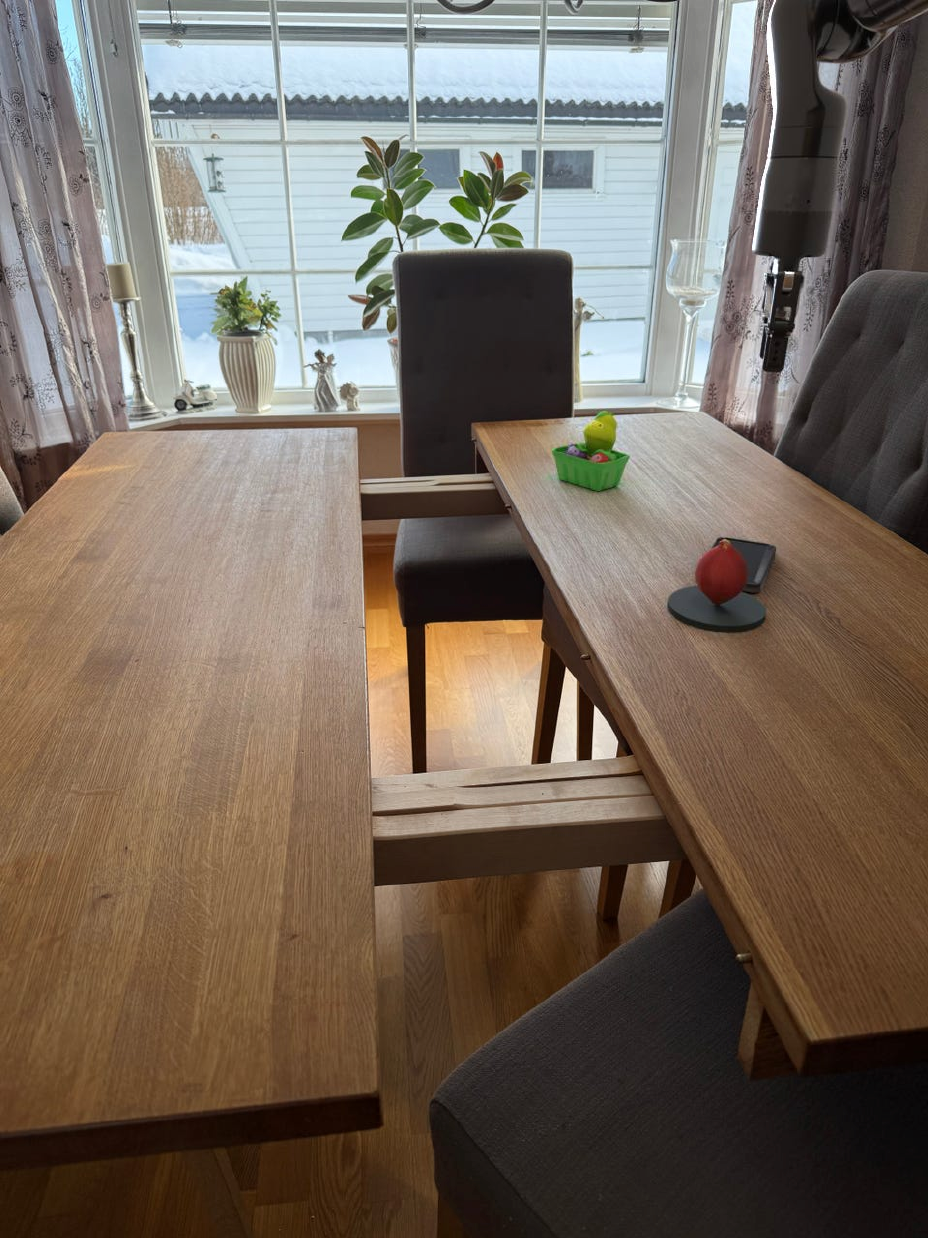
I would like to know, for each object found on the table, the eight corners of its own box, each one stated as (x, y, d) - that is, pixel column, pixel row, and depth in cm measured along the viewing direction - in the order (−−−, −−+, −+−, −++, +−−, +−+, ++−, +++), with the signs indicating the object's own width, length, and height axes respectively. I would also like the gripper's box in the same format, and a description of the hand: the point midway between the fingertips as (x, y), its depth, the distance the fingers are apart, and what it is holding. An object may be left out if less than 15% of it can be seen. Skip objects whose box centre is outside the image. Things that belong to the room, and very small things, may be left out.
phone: (777, 545, 118) (760, 585, 106) (776, 553, 119) (759, 594, 106) (717, 535, 121) (694, 573, 109) (716, 543, 122) (693, 582, 109)
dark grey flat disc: (763, 597, 106) (764, 591, 106) (767, 637, 96) (768, 631, 96) (669, 587, 108) (670, 581, 108) (664, 625, 99) (665, 618, 98)
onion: (699, 589, 106) (708, 526, 102) (748, 600, 103) (759, 535, 100) (684, 607, 101) (693, 542, 98) (735, 619, 99) (745, 552, 95)
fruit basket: (547, 478, 148) (550, 411, 143) (583, 469, 153) (587, 403, 149) (598, 495, 141) (604, 424, 136) (634, 484, 146) (641, 416, 141)
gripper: (841, 208, 86) (810, 378, 93) (826, 206, 98) (800, 356, 105) (760, 207, 87) (736, 374, 95) (755, 205, 100) (735, 353, 107)
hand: (770, 364), depth 100 cm, fingers open, 8 cm apart
